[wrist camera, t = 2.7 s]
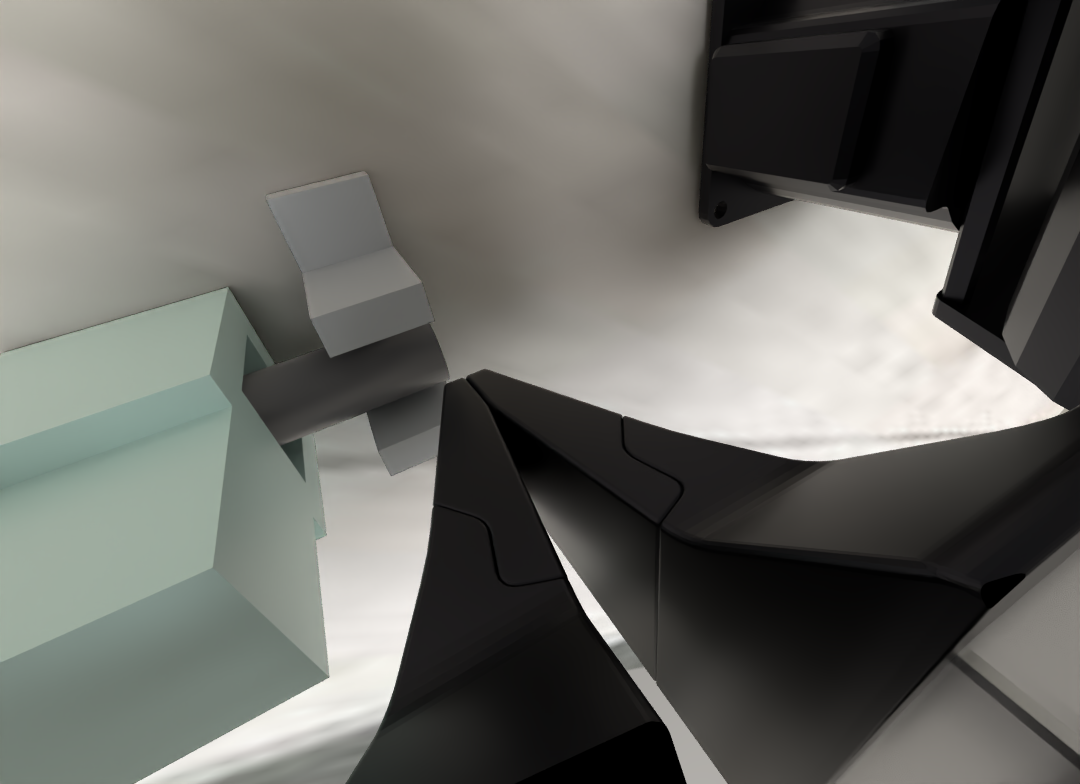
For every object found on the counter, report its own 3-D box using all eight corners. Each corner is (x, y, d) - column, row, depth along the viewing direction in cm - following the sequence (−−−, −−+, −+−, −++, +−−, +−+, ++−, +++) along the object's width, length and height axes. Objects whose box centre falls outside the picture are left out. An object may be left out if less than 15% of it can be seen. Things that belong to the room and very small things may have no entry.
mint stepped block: (228, 286, 10) (175, 532, 4) (312, 425, 12) (347, 693, 7) (0, 353, 9) (-458, 797, 3) (143, 491, 11) (22, 875, 6)
